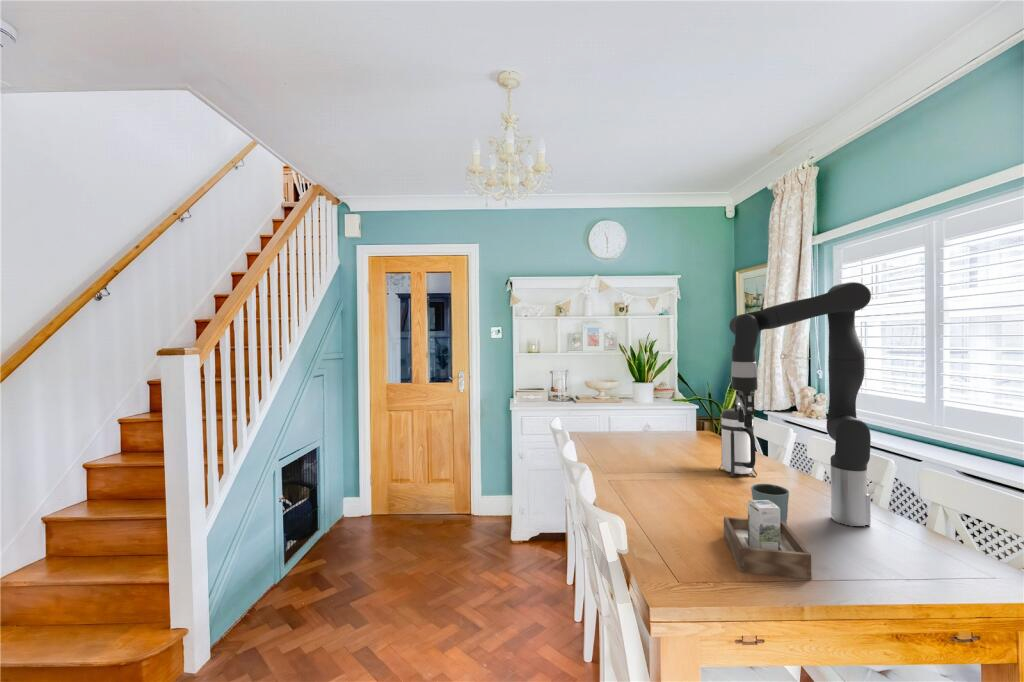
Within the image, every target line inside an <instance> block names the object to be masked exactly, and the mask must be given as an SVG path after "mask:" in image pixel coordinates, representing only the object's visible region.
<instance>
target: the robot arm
mask: <svg viewBox="0 0 1024 682" xmlns="http://www.w3.org/2000/svg"><path fill="white" fill-rule="evenodd" d="M871 299H872V293H871V290H870V288H869V287H868V286H867V285H865V284H864V283H861V282H857V281H850V282H849V281H848V282H844V283H839V284H835V285H834V286H832V287H831V288H829V290H828V291H827V292H826V293H823V294H819V295H816V296H812V297H807V298H802V299H798V300H793V301H788V302H783V303H781V304H780V303H779V304H777V305H772V306H768V307H766V308H763V309H760V310H757V311H756V310H755V311H751V312H746V313H743V314H738V315H736V316H734V317H732V318H731V320H730V321H729V326H728V327H729V331H730V332H731V333H732V334H734V338H735V339H734V340H735V341H734V345H732V349H731V358H732V359H731V390H733V391H735V404H736V408H737V411H738V421H739V422H744V426H745V427H747V428H751V427H752V416H754V415H755V414H756V413H755V396H754V395H752V394H751V392H754V391H757V390H758V366H757V344H758V338H759V332H760V331H763V330H772V329H776V328H777V329H778V328H780V327H784V326H788V325H792V324H796V323H798V322H799V323H800V322H802V321H805V320H809V319H812V318H816V317H820V316H825V315H827V321H828V360H827V361H828V369H827V370H828V393H829V394H828V395H829V399H828V400H829V401H828V409H827V418H826V431H827V434H828V435H829V437H830V438H831V439H832V440H833V441H835V447H834V448H835V449H834V450H835V451H834V454H832V455H831V456H830V518H832V519H833V521H834V522H835V521H836V522H835V523H838V524H840V523H842V524H841V525H843V524H845V526H847V525H849V526H848V527H853V526H864V527H866V526H865V525H871V526H872V524H871V522H872V521H871V520H872V519H871V495H870V494H869V493H868V464H869V461H870V459H871V443H872V441H871V440H872V439H871V431H870V428H869V426H868V425H867V423H865V422H864V421H862V420H861V419H858V418H857V408H856V405H857V396H858V394H859V391H860V389H861V387H862V383H863V381H864V378H865V361H866V360H865V352H864V348H863V346H862V343H861V340H860V338H859V336H858V334H857V330H856V326H855V325H856V324H855V323H856V322H855V321H856V320H855V319H856V312H857V311H860V310H862V309H864V308H865V307H866V306H868V305H869V303H870V302H871ZM832 519H831V520H832Z"/></svg>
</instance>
